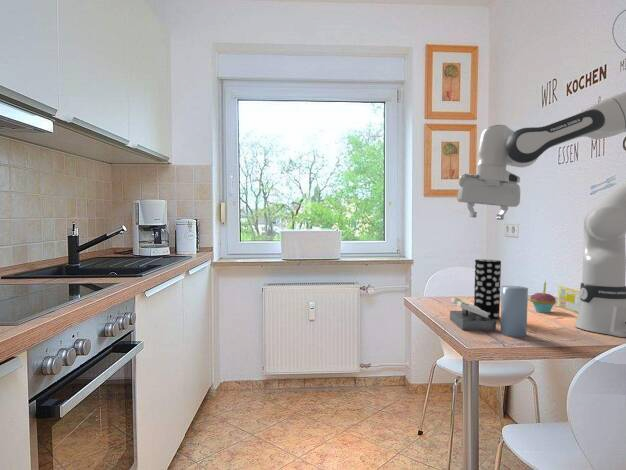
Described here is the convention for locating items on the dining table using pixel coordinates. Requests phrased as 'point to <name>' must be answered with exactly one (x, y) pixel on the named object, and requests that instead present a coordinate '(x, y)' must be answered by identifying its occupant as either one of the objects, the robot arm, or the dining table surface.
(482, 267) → the white-spotted black cylinder
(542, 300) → the cupcake
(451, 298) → the paddle
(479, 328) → the panel
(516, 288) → the blue cylinder
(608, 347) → the dining table surface
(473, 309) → the paddle
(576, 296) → the candy box
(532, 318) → the dining table surface
